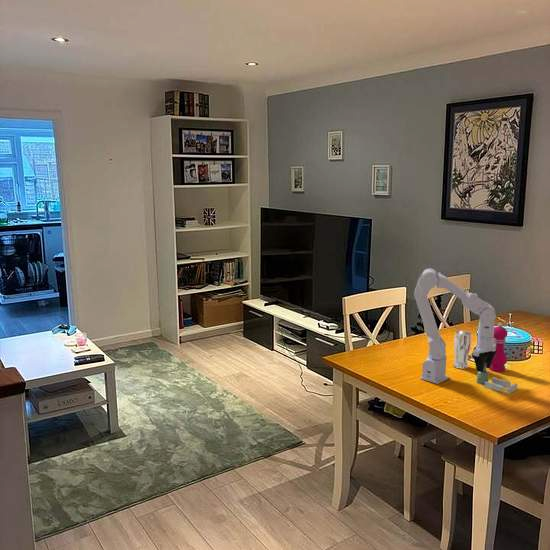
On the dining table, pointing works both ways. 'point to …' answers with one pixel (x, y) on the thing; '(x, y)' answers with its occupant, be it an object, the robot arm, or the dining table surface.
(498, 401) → the dining table surface
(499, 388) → the rest
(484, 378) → the bottle
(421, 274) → the robot arm
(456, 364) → the pale grey carved column
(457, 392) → the dining table surface
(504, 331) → the pepper mill
